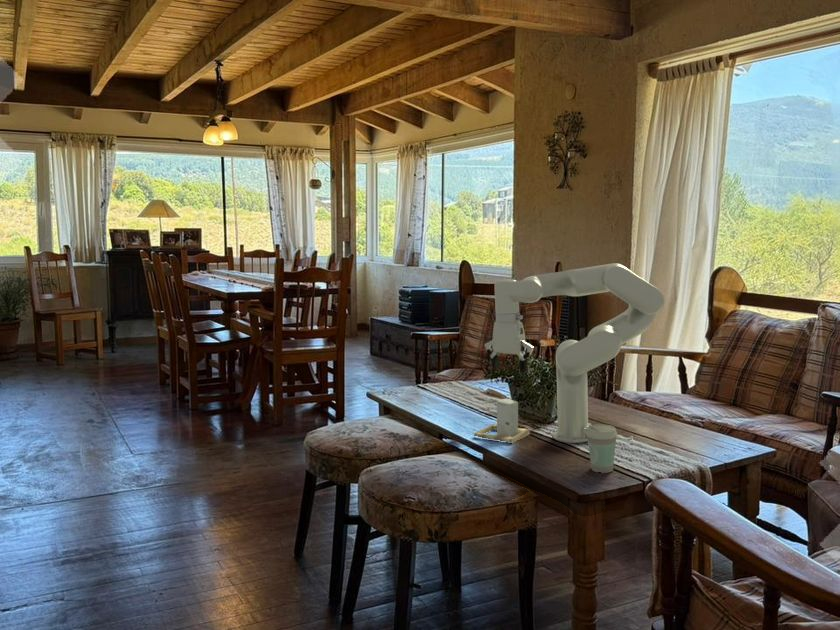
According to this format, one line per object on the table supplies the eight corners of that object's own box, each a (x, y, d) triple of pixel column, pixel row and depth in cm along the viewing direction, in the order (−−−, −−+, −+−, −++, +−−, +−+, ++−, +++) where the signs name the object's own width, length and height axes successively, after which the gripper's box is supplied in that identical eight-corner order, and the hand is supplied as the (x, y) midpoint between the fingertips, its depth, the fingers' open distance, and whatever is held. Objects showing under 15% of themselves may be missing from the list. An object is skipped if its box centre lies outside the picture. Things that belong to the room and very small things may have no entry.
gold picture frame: (529, 434, 238) (529, 429, 238) (512, 444, 228) (511, 439, 228) (492, 428, 246) (492, 424, 246) (474, 438, 237) (474, 433, 236)
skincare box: (496, 436, 237) (495, 400, 236) (506, 433, 240) (505, 398, 238) (509, 440, 232) (508, 404, 231) (519, 437, 235) (518, 401, 233)
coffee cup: (587, 463, 208) (586, 423, 206) (618, 465, 205) (617, 424, 204) (585, 474, 200) (584, 432, 198) (617, 475, 197) (616, 433, 196)
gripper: (537, 317, 228) (539, 370, 230) (489, 315, 238) (492, 366, 240) (526, 321, 222) (528, 375, 224) (478, 318, 232) (480, 371, 234)
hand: (509, 370), depth 232 cm, fingers open, 9 cm apart
